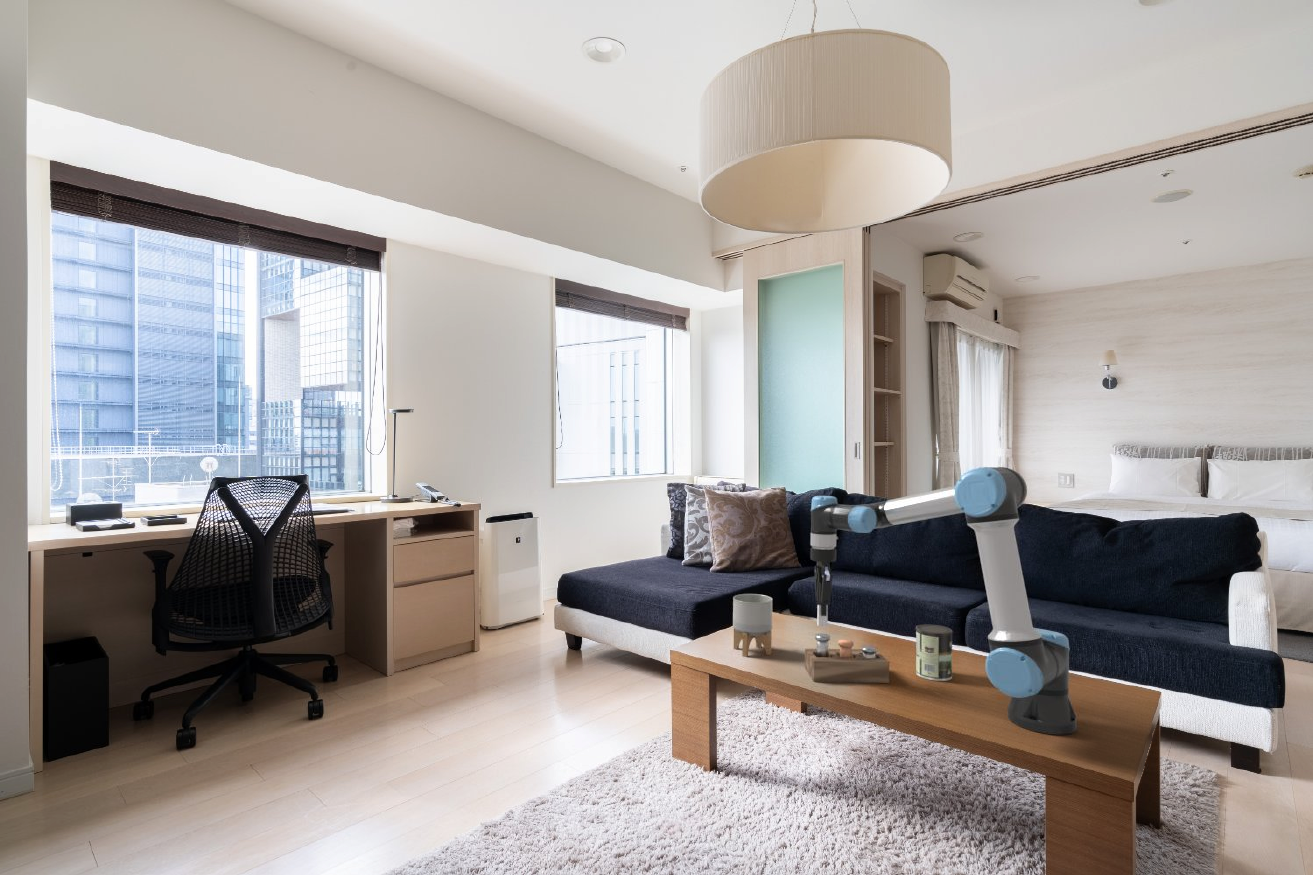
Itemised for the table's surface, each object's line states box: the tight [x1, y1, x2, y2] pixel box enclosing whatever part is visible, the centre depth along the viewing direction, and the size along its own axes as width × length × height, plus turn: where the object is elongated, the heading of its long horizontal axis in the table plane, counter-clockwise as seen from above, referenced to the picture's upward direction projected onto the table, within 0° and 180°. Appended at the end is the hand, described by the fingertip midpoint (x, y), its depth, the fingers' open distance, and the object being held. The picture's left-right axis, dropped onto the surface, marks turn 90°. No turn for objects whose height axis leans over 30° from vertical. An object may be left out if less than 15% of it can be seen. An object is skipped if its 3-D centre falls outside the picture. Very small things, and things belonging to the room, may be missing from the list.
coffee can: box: [915, 623, 954, 682], centre depth 202 cm, size 10×10×14 cm
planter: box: [732, 593, 773, 658], centre depth 224 cm, size 13×13×18 cm
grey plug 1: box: [814, 633, 831, 658], centre depth 202 cm, size 4×4×7 cm
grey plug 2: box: [860, 645, 878, 658], centre depth 202 cm, size 4×4×7 cm
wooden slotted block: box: [804, 648, 890, 684], centre depth 202 cm, size 12×22×6 cm, turn 90°
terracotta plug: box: [837, 638, 855, 658], centre depth 202 cm, size 4×4×7 cm
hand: (822, 625), depth 202 cm, fingers closed
